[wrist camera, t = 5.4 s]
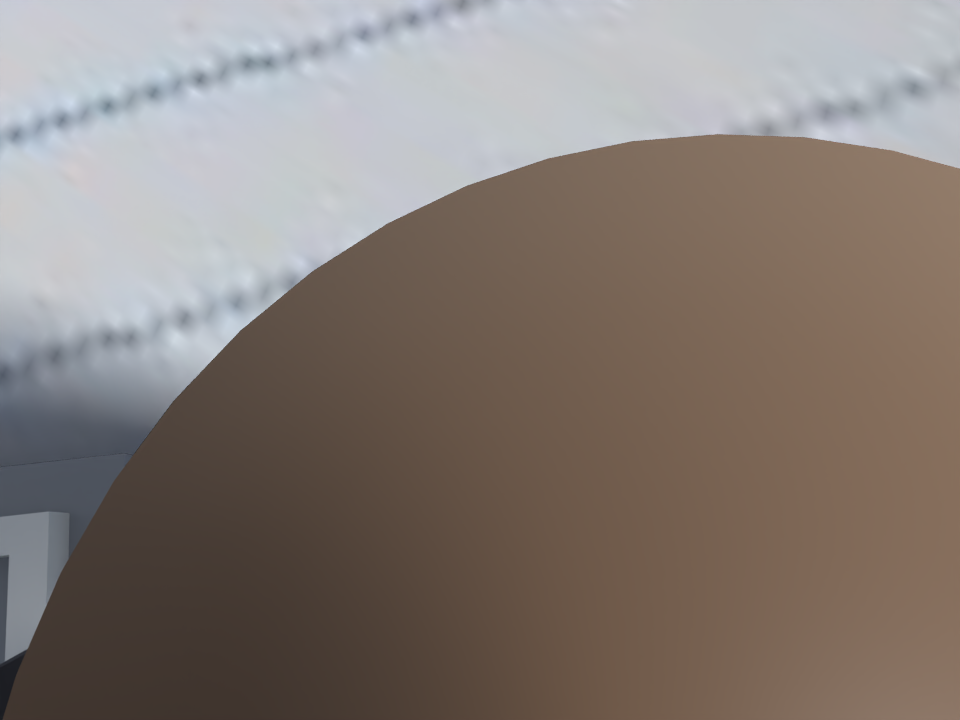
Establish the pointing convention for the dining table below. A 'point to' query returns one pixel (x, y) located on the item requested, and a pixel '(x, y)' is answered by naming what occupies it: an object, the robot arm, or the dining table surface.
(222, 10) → the dining table surface
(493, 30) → the dining table surface
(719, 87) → the dining table surface
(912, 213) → the post
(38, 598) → the base
